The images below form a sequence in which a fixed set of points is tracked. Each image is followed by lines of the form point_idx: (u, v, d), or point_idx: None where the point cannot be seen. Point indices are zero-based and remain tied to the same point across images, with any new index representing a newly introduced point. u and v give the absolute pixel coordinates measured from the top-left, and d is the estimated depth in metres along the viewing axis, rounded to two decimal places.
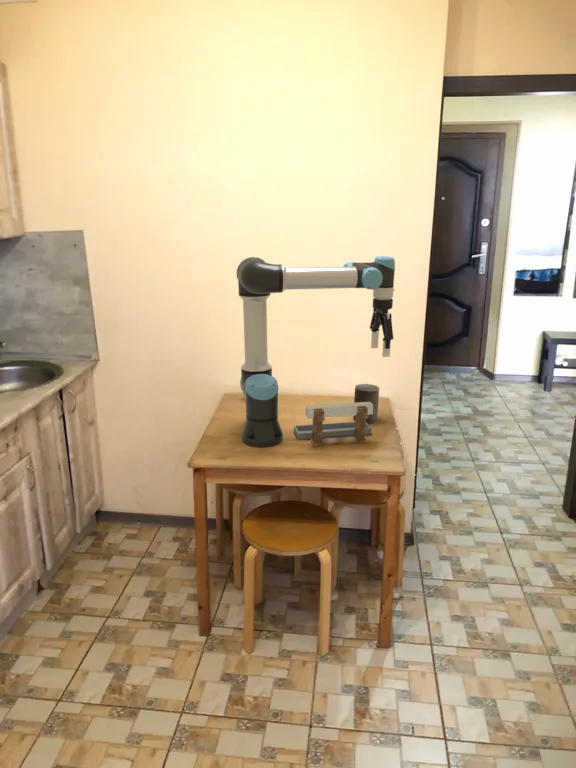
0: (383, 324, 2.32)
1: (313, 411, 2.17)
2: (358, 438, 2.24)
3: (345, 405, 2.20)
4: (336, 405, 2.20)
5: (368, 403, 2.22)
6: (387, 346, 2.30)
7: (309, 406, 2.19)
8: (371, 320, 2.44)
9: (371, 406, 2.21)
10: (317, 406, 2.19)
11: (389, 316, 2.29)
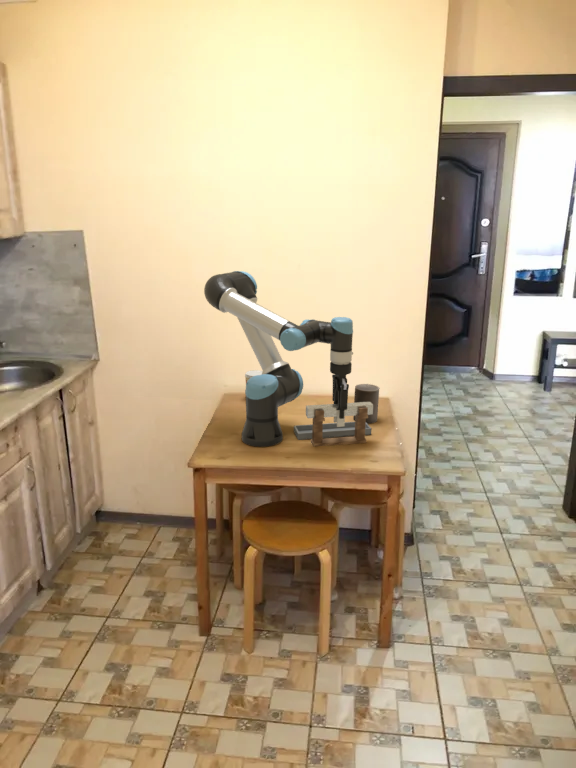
0: (339, 392, 2.16)
1: (313, 411, 2.17)
2: (358, 438, 2.24)
3: None
4: (336, 405, 2.20)
5: (368, 403, 2.22)
6: (341, 416, 2.17)
7: (309, 406, 2.19)
8: None
9: (371, 406, 2.21)
10: (317, 406, 2.19)
11: (346, 388, 2.12)
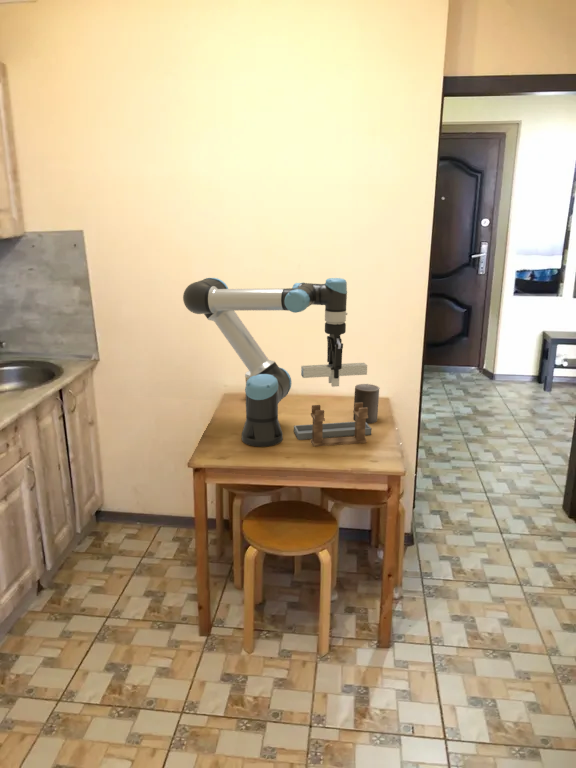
0: (334, 352, 2.21)
1: (308, 371, 2.22)
2: (358, 438, 2.24)
3: None
4: (331, 365, 2.25)
5: (362, 364, 2.27)
6: (336, 376, 2.22)
7: (304, 366, 2.23)
8: (327, 352, 2.29)
9: (365, 366, 2.25)
10: (312, 366, 2.24)
11: (340, 347, 2.17)
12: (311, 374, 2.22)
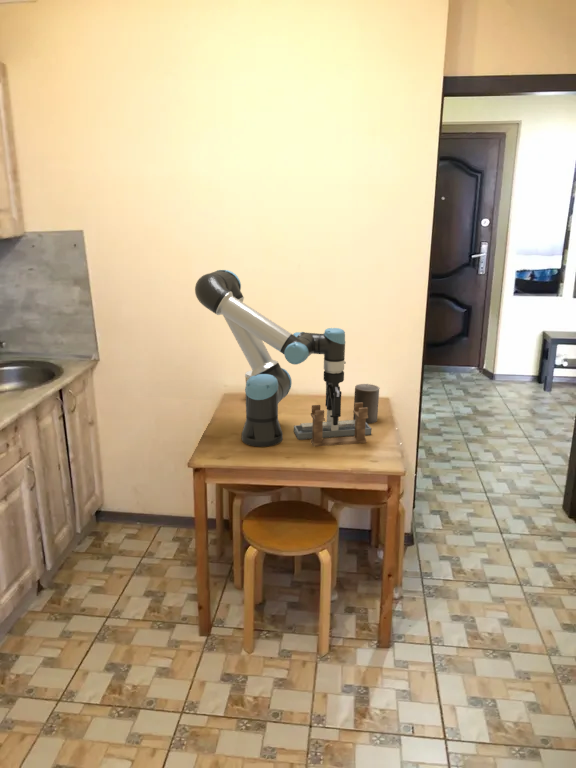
0: (333, 399, 2.26)
1: (307, 429, 2.29)
2: (358, 438, 2.24)
3: None
4: (329, 422, 2.32)
5: None
6: (335, 423, 2.27)
7: (303, 424, 2.30)
8: None
9: None
10: (311, 424, 2.30)
11: (339, 395, 2.22)
12: None
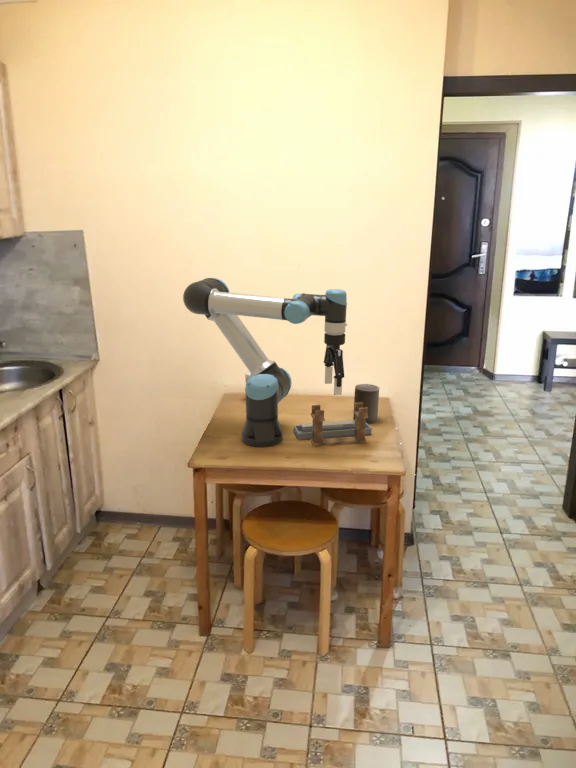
0: (334, 361, 2.20)
1: (307, 429, 2.29)
2: (358, 438, 2.24)
3: (338, 423, 2.32)
4: (329, 422, 2.32)
5: None
6: (338, 384, 2.18)
7: (303, 424, 2.30)
8: (325, 354, 2.32)
9: None
10: (311, 424, 2.30)
11: (340, 353, 2.17)
12: None
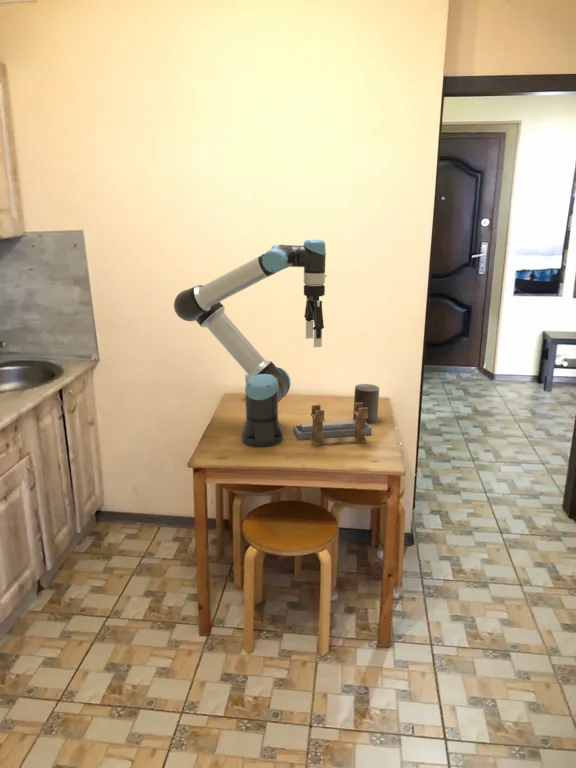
0: (314, 312, 2.17)
1: (307, 429, 2.29)
2: (358, 438, 2.24)
3: (338, 423, 2.32)
4: (329, 422, 2.32)
5: None
6: (318, 335, 2.16)
7: (303, 424, 2.30)
8: None
9: None
10: (311, 424, 2.30)
11: (320, 304, 2.14)
12: None
